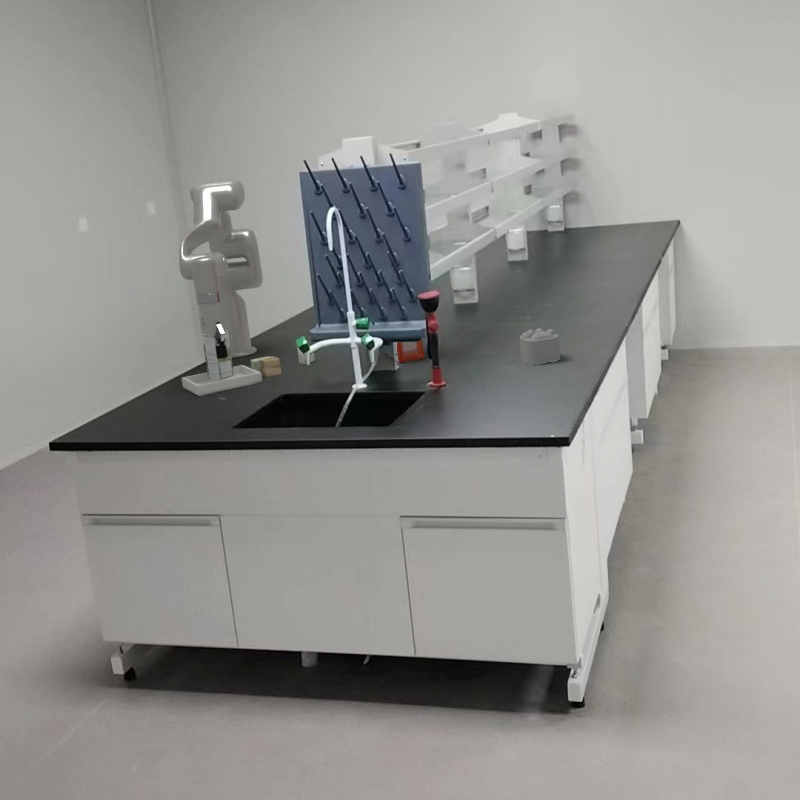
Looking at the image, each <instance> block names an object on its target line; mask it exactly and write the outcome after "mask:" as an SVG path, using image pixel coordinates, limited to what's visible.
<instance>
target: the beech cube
mask: <svg viewBox="0 0 800 800" xmlns="http://www.w3.org/2000/svg"><path fill="white" fill-rule="evenodd" d="M267 357H268V356H267ZM258 360H259V367H260V372H261V375H262V377H265V378H269V377H270V378H271V377H274V376H278V375H282V366H281V360H280V357H279V358H278V357H276V356H273V355H272V356H269V357H268V358H263V359H258Z"/></svg>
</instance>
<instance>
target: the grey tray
mask: <svg viewBox="0 0 800 800" xmlns="http://www.w3.org/2000/svg"><path fill="white" fill-rule="evenodd" d="M233 372H234V376H231V377H228V378H225V379H222V380H214V379H208V374H207V372H202V373H197V374H193V375H188V376H182V377H181V383H182V388H184V389H185V390H187V391H189V392H191V393H192V394H194V395H197V396H198V397H202V396H206V395H211V394H216V393H220V392H224V391H229V390H233V389H238V388H243V387H248V386H251V385H257V384H260V383H261V384H262V383H263V375H261V372H258V371H256V370H254V369H252V368H251V367H248V366H246V365H244V364H239V365H235V366H233Z"/></svg>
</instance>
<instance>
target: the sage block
mask: <svg viewBox="0 0 800 800" xmlns="http://www.w3.org/2000/svg"><path fill="white" fill-rule="evenodd" d="M268 357H270V356H264V357H263V356H262V357H259V358H253V359H250V368H251V369H254V370H256V371H258V372H260V367H259V360H258V359H263V358H268Z"/></svg>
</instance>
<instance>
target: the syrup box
mask: <svg viewBox="0 0 800 800" xmlns="http://www.w3.org/2000/svg"><path fill="white" fill-rule="evenodd" d="M225 331H226V333H225V341H226V349H227V355H228V357H226V358H221V359H217V355H216V348H215V346H216V343H215V338H214V336H213V338H210V337H207V336H206V333H201V338H202V346H203V352H204V359H205V365H206V366H205V367H206V373H207V374H208V379H214V380H222V379H225V378H228V377H231V376H234V372H233V367H234V366H233V359H232V358H231V351H230V343H229V336H228V331H227V330H225ZM215 335H219V334H215ZM218 339H219V338H217V340H218Z"/></svg>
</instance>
